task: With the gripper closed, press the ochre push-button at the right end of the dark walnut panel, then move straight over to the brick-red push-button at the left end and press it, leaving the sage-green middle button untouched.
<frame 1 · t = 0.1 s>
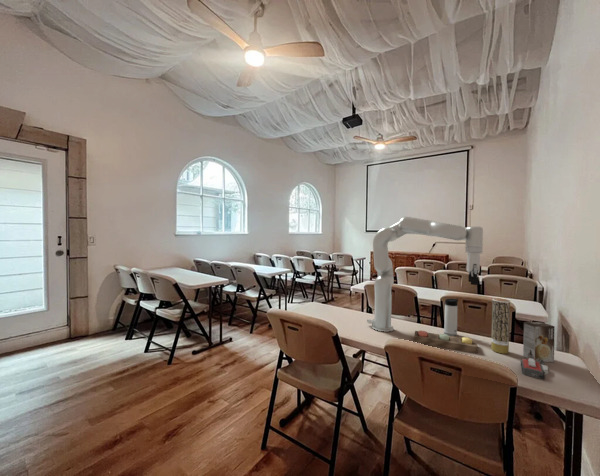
hand: (473, 283, 142), 31 cm above the table, tool pointing down, fingers open, 9 cm apart
brick red button: (422, 334, 145), point 3 cm above the table, slide at 0.0 cm
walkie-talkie: (534, 370, 115), on the table
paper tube: (499, 351, 132), on the table
ochre button: (466, 341, 136), point 3 cm above the table, slide at 0.0 cm
sage button: (444, 338, 140), point 3 cm above the table, slide at 0.0 cm
coffee box: (538, 359, 125), on the table
button panel: (444, 344, 140), on the table
travel mug: (450, 334, 155), on the table
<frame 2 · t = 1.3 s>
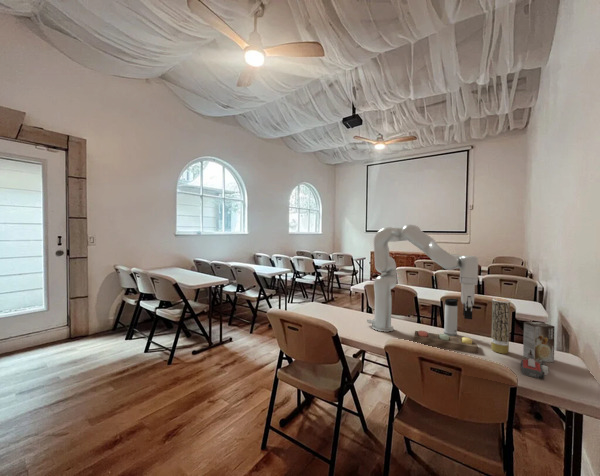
hand: (467, 317, 136), 15 cm above the table, tool pointing down, fingers open, 4 cm apart
nothing on the table moved.
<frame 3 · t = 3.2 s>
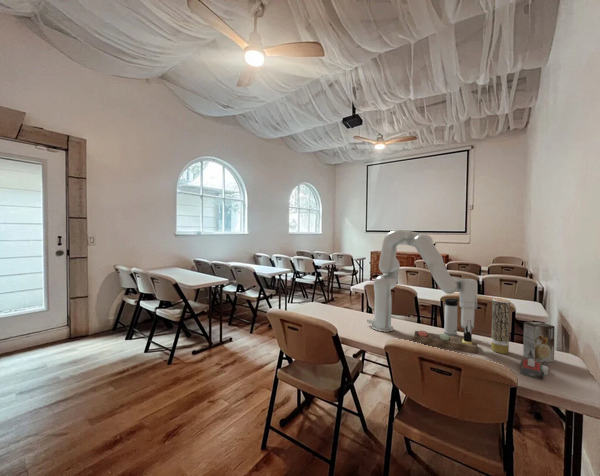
hand: (467, 340, 136), 4 cm above the table, tool pointing down, fingers closed
ochre button: (466, 343, 136), point 2 cm above the table, slide at 1.0 cm, touching gripper
everything else where it was.
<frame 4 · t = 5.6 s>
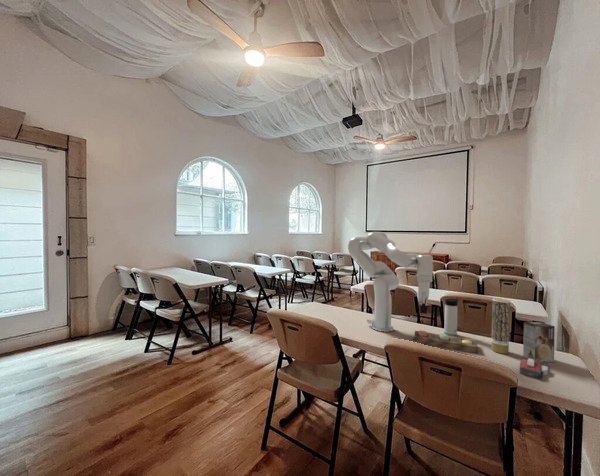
hand: (423, 312, 144), 15 cm above the table, tool pointing down, fingers closed
ochre button: (466, 344, 136), point 2 cm above the table, slide at 1.3 cm
everything else where it was.
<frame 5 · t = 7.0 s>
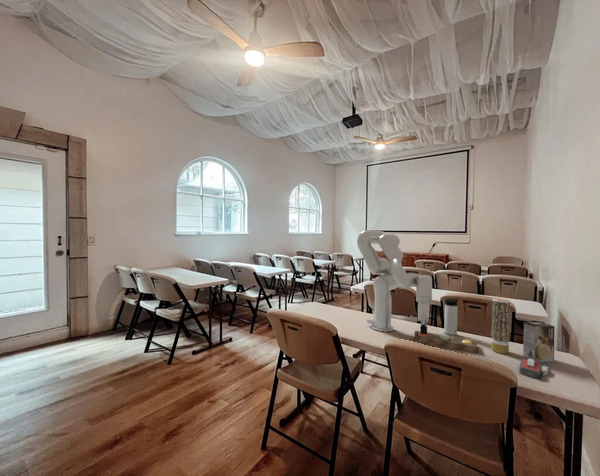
hand: (423, 333, 144), 4 cm above the table, tool pointing down, fingers closed
brick red button: (422, 336, 145), point 2 cm above the table, slide at 0.8 cm, touching gripper
everything else where it was.
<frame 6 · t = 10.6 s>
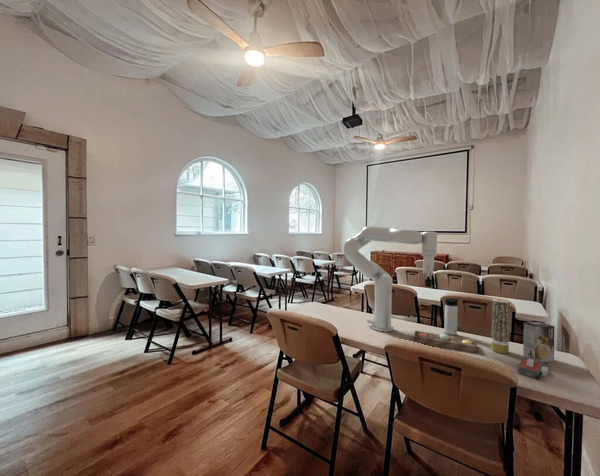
hand: (428, 286, 153), 27 cm above the table, tool pointing down, fingers closed
brick red button: (422, 337, 145), point 2 cm above the table, slide at 1.3 cm
everything else where it was.
at the end: ochre button slide at 1.3 cm; brick red button slide at 1.3 cm; sage button slide at 0.0 cm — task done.
